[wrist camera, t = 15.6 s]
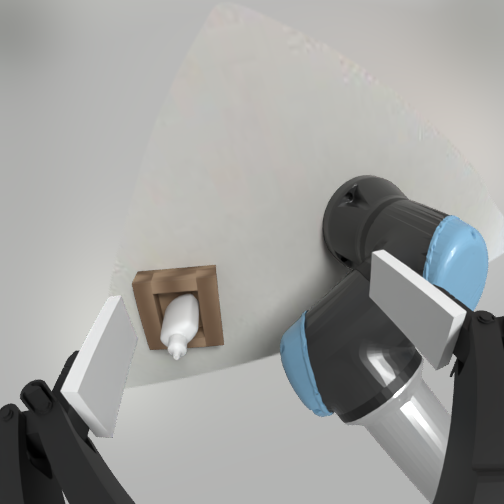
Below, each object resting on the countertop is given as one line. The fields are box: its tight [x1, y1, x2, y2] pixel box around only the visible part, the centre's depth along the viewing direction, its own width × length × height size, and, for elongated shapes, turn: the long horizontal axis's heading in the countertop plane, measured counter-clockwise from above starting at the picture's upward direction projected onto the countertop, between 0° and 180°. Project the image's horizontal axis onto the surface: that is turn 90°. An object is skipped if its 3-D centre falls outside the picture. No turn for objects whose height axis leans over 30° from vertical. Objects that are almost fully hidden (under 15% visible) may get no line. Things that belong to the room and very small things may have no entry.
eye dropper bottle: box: [160, 294, 199, 360], centre depth 37 cm, size 4×6×12 cm
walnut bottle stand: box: [132, 265, 224, 350], centre depth 42 cm, size 12×12×4 cm
